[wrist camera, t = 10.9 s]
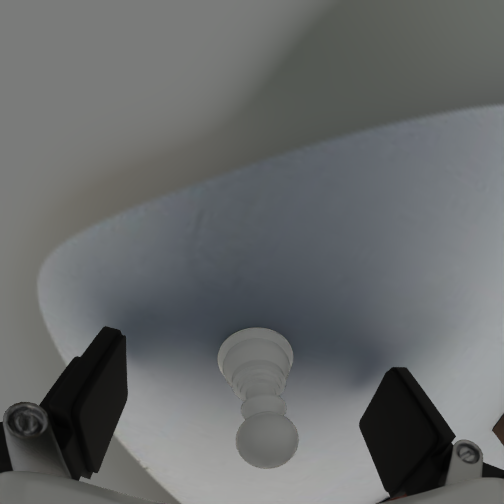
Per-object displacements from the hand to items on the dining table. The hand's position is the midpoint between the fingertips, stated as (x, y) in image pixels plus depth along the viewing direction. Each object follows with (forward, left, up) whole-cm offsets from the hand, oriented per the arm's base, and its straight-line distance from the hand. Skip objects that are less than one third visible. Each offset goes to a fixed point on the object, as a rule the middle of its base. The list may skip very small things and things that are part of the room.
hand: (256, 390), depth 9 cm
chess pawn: (0, 0, -2) cm, 2 cm away
